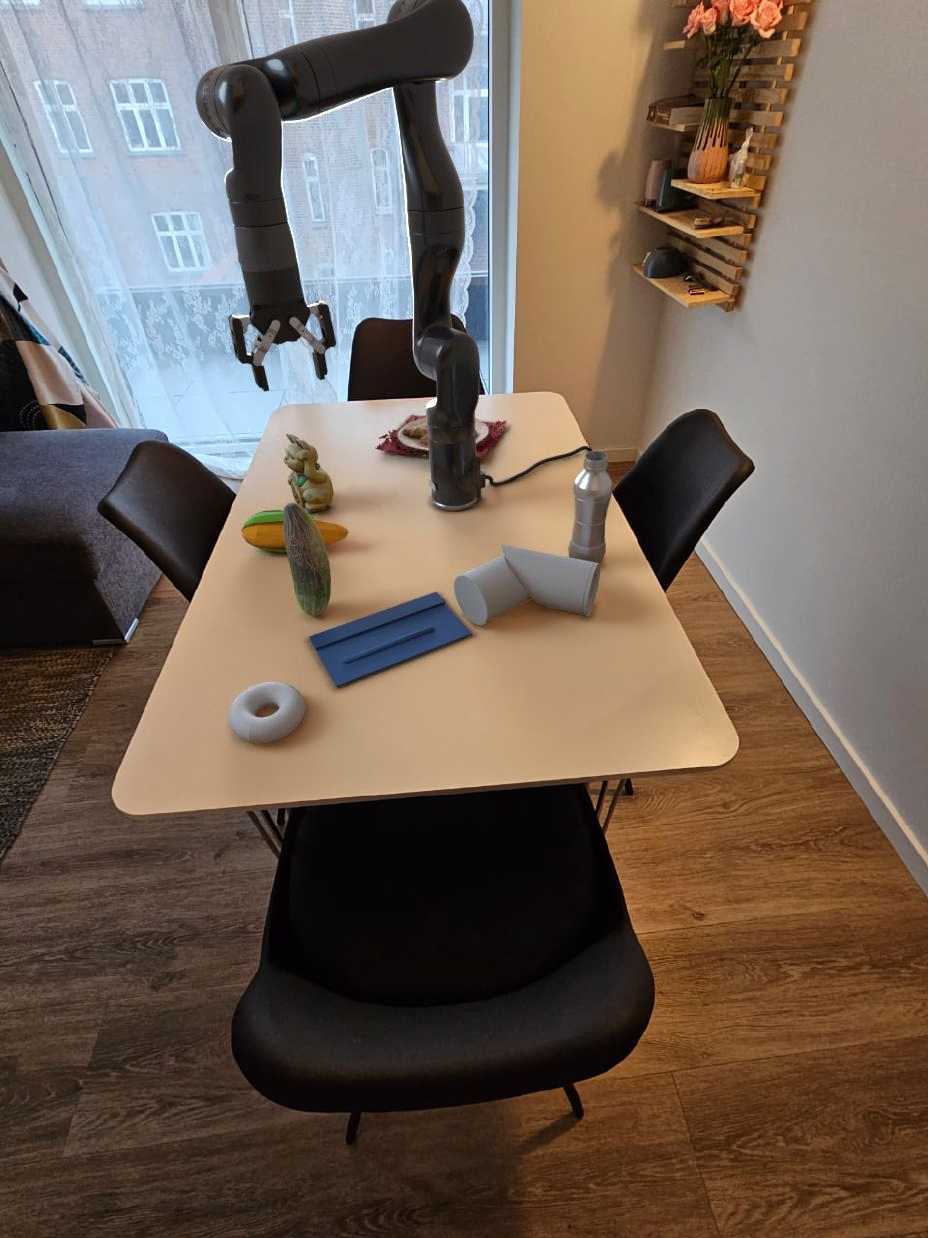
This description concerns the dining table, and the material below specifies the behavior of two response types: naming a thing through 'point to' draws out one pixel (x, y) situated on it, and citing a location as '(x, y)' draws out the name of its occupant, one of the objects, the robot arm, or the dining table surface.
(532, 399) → the dining table surface
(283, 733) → the donut
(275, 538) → the corn
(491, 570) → the elbow connector
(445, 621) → the blue rectangular panel
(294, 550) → the vegetable
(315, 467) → the decorative figurine
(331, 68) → the robot arm
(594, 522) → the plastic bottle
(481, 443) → the plate with food
